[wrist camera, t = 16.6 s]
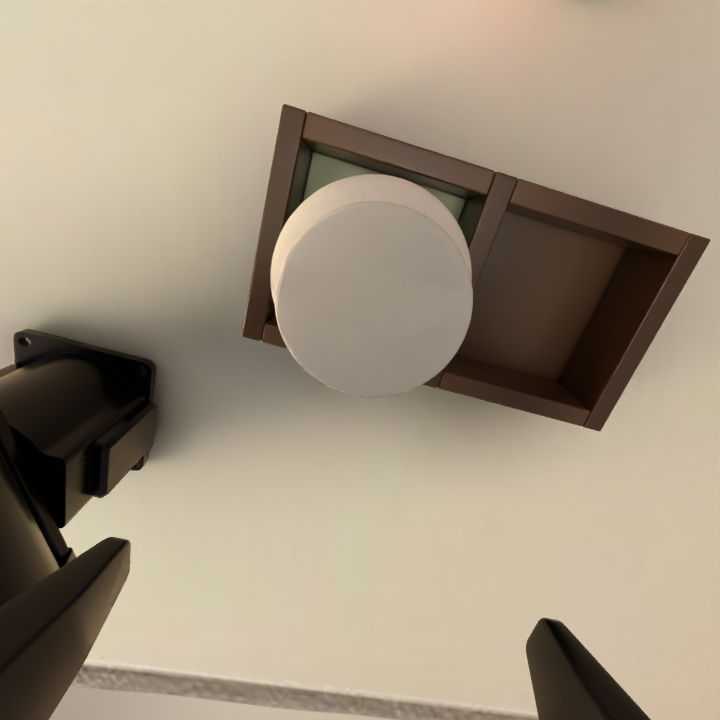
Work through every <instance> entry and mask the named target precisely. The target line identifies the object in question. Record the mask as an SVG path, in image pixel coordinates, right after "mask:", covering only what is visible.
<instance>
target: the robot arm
mask: <svg viewBox="0 0 720 720" xmlns="http://www.w3.org/2000/svg"><path fill="white" fill-rule="evenodd" d="M25 337H26V338H27V339H28V340H29V343H28V342H27V341H26V339H25ZM13 350H14V364H12V365H10V366H8V367H5V368H3V369H1V370H0V720H49V718H50V717H51V715H52V714H53V712H54V710H55V709H56V707H57V706H58V704H59V702H60V700H61V699H62V698H63V696H64V694H65V693H66V691H67V690H68V688H69V686H70V685H71V683H72V682H73V680H74V678H75V677H76V675H77V673H78V672H79V670H80V668H81V667H82V665H83V663H84V661H85V659H86V658H87V656H88V654H89V652H90V650H91V648H92V646H93V644H94V642H95V640H96V638H97V636H98V634H99V632H100V630H101V628H102V627H103V625H104V623H105V621H106V619H107V617H108V615H109V613H110V611H111V609H112V607H113V605H114V603H115V601H116V599H117V597H118V595H119V593H120V591H121V589H122V587H123V585H124V583H125V581H126V579H127V577H128V573H129V569H130V549H131V545H130V542H129V540H126V539H121V538H115V537H109V538H106V539H105V540H103V541H101V542H100V543H98V544H97V545H95V546H94V547H92V548H90V549H89V550H87V551H86V552H84V553H83V554H81V555H80V556H78V557H76V556H75V554H74V552H73V549H72V548H68V546H67V544H66V542H65V540H64V538H63V536H62V534H61V532H60V530H59V528H63V527H64V526H65V525H66V524H67V523H68V522H69V521H70V520H71V519H72V518H73V517H74V516H75V515H76V514H77V513H78V512H79V511H80V510H81V509H82V508H83V506H84V505H85V504H86V503H87V502H88V501H89V500H90V499H91V498H92V497H93V496H94V497H98V498H102V497H104V496H106V495H107V494H109V492H110V491H111V490H112V489H113V488H114V487H115V486H116V485H117V484H118V483H119V481H120V480H121V479H122V478H123V477H124V476H125V475H126V474H127V473H128V472H129V471H130V470H136V471H137V470H140V469H141V468H142V467H143V466H144V465H145V464H146V461H147V454H148V450H149V449H150V447H151V446H152V444H153V435H154V425H155V416H156V405H155V403H154V401H153V394H154V384H155V374H156V368H155V365H154V364H153V363H152V362H151V361H150V360H148V359H144V358H140V357H136V356H133V355H129V354H125V353H121V352H117V351H113V350H109V349H105V348H101V347H97V346H93V345H89V344H85V343H81V342H78V341H74V340H70V339H66V338H62V337H58V336H54V335H50V334H46V333H42V332H38V331H34V330H30V329H26V330H23V331H20V332H17V333H15V335H14V337H13ZM141 366H142V367H144V368H145V369H146V371H147V373H145V372H143V371H142V370H141ZM526 654H527V659H528V664H529V670H530V675H531V680H532V685H533V690H534V696H535V701H536V706H537V711H538V716H539V720H651V719H650V718H649V717H648V716H647V715H646V714H645V713H644V712H643V711H642V710H641V708H640V707H639V706H638V705H637V704H636V703H635V702H634V701H633V700H632V699H631V697H630V696H629V695H628V694H627V693H626V692H625V691H624V690H623V689H622V688H621V686H620V685H619V684H618V683H617V682H616V681H615V680H614V679H613V678H612V677H611V675H610V674H609V673H608V672H607V671H606V670H605V669H604V668H603V667H602V666H601V664H600V663H599V662H598V661H597V660H596V659H595V658H594V657H593V656H592V655H591V653H590V652H589V651H588V650H587V649H586V648H585V647H584V646H583V645H582V644H581V642H580V641H579V640H578V639H577V638H576V637H575V636H574V635H573V634H572V633H571V631H570V630H569V629H568V628H567V627H566V626H565V625H564V624H563V623H562V622H560V621H558V620H554V619H548V618H542V619H540V620H539V621H538V623H537V625H536V626H535V628H534V630H533V631H532V633H531V635H530V637H529V638H528V640H527V644H526Z"/></svg>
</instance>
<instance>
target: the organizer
mask: <svg viewBox="0 0 720 720" xmlns="http://www.w3.org/2000/svg"><path fill="white" fill-rule="evenodd" d="M364 174H381V175H389V176H394V177H398V178H401V179H404V180H407V181H410V182H412V183H414V184H416V185H418V186H420V187H422V188H424V189H426V190H427V191H428V192H430V193H431V194H432V195H434V196H435V197H436V198H437V199H439V200H440V201H441V202H442V203H443V205H444V206H445V207H446V208H447V209H448V210H449V211H450V213H451V214H452V215H453V217H454V218H455V220H456V221H457V223H458V225H459V226H460V228H461V230H462V233H463V235H464V237H465V240H466V243H467V246H468V250H469V254H470V259H471V268H472V281H471V283H472V289H473V308H472V314H471V321H470V324H469V327H468V330H467V333H466V336H465V338H464V340H463V342H462V344H461V346H460V347H459V349H458V351H457V352H456V354H455V355H454V357H453V358H452V359H451V361H450V362H449V363H448V364H447V365H446V367H445V368H443V369H442V370H441V371H440V372H439V373H438V374H437V375H435V376H434V377H433V378H431V379H430V380H429V381H427V382H425V383H424V384H423V385H427V386H431V387H434V388H437V387H438V388H439V389H443V390H447V391H451V392H454V393H458V394H462V395H466V396H469V397H473V398H477V399H481V400H485V401H488V402H492V403H496V404H500V405H503V406H507V407H511V408H515V409H519V410H522V411H526V412H530V413H534V414H537V415H541V416H545V417H549V418H553V419H556V420H560V421H564V422H568V423H571V424H575V425H579V426H583V427H585V428H589V429H593V430H596V431H601V429H602V427H603V426H604V424H605V422H606V420H607V419H608V417H609V415H610V413H611V412H612V410H613V408H614V407H615V405H616V403H617V401H618V400H619V398H620V396H621V394H622V393H623V391H624V389H625V387H626V386H627V384H628V382H629V381H630V379H631V377H632V375H633V374H634V372H635V370H636V368H637V367H638V365H639V363H640V361H641V360H642V358H643V356H644V355H645V353H646V351H647V349H648V348H649V346H650V344H651V342H652V341H653V339H654V337H655V335H656V334H657V332H658V330H659V329H660V327H661V325H662V323H663V322H664V320H665V318H666V316H667V315H668V313H669V311H670V310H671V308H672V306H673V304H674V303H675V301H676V299H677V297H678V296H679V294H680V292H681V290H682V289H683V287H684V285H685V284H686V282H687V280H688V278H689V277H690V275H691V273H692V271H693V270H694V268H695V266H696V264H697V263H698V261H699V259H700V258H701V256H702V254H703V252H704V251H705V249H706V247H707V245H708V244H709V242H710V239H707V238H704V237H701V236H698V235H695V234H691V233H688V232H685V231H682V230H679V229H676V228H673V227H670V226H666V225H663V224H660V223H657V222H654V221H651V220H648V219H644V218H641V217H638V216H635V215H632V214H629V213H626V212H622V211H619V210H616V209H613V208H610V207H607V206H604V205H600V204H597V203H594V202H591V201H588V200H585V199H582V198H578V197H575V196H572V195H569V194H566V193H563V192H560V191H557V190H553V189H550V188H547V187H544V186H541V185H538V184H535V183H531V182H528V181H525V180H522V179H517V178H516V177H513V176H509V175H506V174H503V173H500V172H495V171H493V170H490V169H487V168H484V167H481V166H478V165H475V164H471V163H468V162H465V161H462V160H459V159H456V158H453V157H450V156H446V155H443V154H440V153H437V152H434V151H431V150H428V149H424V148H421V147H418V146H415V145H412V144H409V143H406V142H402V141H399V140H396V139H393V138H390V137H387V136H384V135H380V134H377V133H374V132H371V131H368V130H365V129H362V128H359V127H355V126H352V125H349V124H346V123H343V122H340V121H337V120H333V119H330V118H327V117H324V116H321V115H318V114H315V113H311V112H308V113H307V112H306V111H305V110H302V109H299V108H296V107H293V106H289V105H286V104H284V105H283V106H282V112H281V117H280V123H279V128H278V134H277V140H276V145H275V151H274V156H273V162H272V167H271V173H270V179H269V184H268V190H267V195H266V201H265V207H264V212H263V218H262V223H261V229H260V234H259V240H258V246H257V251H256V257H255V262H254V268H253V274H252V279H251V285H250V290H249V296H248V301H247V307H246V313H245V318H244V324H243V329H242V336H243V337H246V338H250V339H254V340H258V341H261V340H262V342H264V343H268V344H272V345H276V346H279V347H283V348H287V346H286V344H285V342H284V340H283V338H282V336H281V333H280V330H279V327H278V323H277V319H276V313H275V305H274V302H273V298H272V291H271V264H272V257H273V253H274V249H275V246H276V243H277V240H278V238H279V235H280V233H281V231H282V229H283V227H284V225H285V224H286V222H287V220H288V219H289V217H290V216H291V215H292V214H293V212H294V211H295V210H296V209H297V208H298V207H299V206H300V205H301V204H302V203H303V202H304V201H305V200H306V199H307V198H308V197H310V196H311V195H312V194H313V193H315V192H316V191H318V190H319V189H321V188H323V187H324V186H326V185H328V184H330V183H333V182H335V181H338V180H341V179H344V178H348V177H352V176H358V175H364ZM287 349H288V348H287Z"/></svg>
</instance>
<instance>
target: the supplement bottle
mask: <svg viewBox="0 0 720 720" xmlns="http://www.w3.org/2000/svg"><path fill="white" fill-rule="evenodd" d="M471 281H472V268H471V259H470V254H469V250H468V246H467V243H466V240H465V237H464V235H463V233H462V230H461V228H460V226H459V225H458V223H457V221H456V220H455V218H454V217H453V215H452V214H451V213H450V211H449V210H448V209H447V208H446V207H445V206H444V205H443V203H442V202H441V201H440V200H439V199H437V198H436V197H435V196H434V195H432V194H431V193H430V192H428V191H427V190H426V189H424V188H422V187H420V186H418V185H416V184H414V183H412V182H410V181H407V180H404V179H401V178H398V177H394V176H389V175H381V174H364V175H358V176H352V177H348V178H344V179H341V180H338V181H335V182H333V183H330V184H328V185H326V186H324V187H323V188H321V189H319V190H318V191H316V192H315V193H313V194H312V195H311V196H310V197H308V198H307V199H306V200H305V201H304V202H303V203H302V204H301V205H300V206H299V207H298V208H297V209H296V210H295V211H294V212H293V214H292V215H291V216H290V217H289V219H288V220H287V222H286V224H285V225H284V227H283V229H282V231H281V233H280V235H279V238H278V240H277V243H276V246H275V249H274V253H273V257H272V264H271V291H272V298H273V302H274V305H275V313H276V319H277V323H278V327H279V330H280V333H281V336H282V338H283V340H284V342H285V344H286V346H287V348H288V350H289V352H290V353H291V355H292V356H293V357H294V359H295V360H296V361H297V362H298V364H299V365H300V366H301V367H302V368H303V369H304V370H305V371H306V372H307V373H308V374H309V375H311V376H312V377H313V378H315V379H316V380H317V381H319V382H321V383H322V384H324V385H326V386H328V387H330V388H332V389H334V390H337V391H339V392H343V393H346V394H350V395H354V396H361V397H384V396H392V395H396V394H400V393H403V392H406V391H409V390H412V389H414V388H417V387H418V386H420V385H422V384H424V383H425V382H427V381H429V380H430V379H431V378H433V377H434V376H435V375H437V374H438V373H439V372H440V371H441V370H442V369H443V368H445V367H446V365H447V364H448V363H449V362H450V361H451V359H452V358H453V357H454V355H455V354H456V352H457V351H458V349H459V347H460V346H461V344H462V342H463V340H464V338H465V336H466V333H467V330H468V327H469V324H470V321H471V314H472V308H473V289H472V283H471Z"/></svg>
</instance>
